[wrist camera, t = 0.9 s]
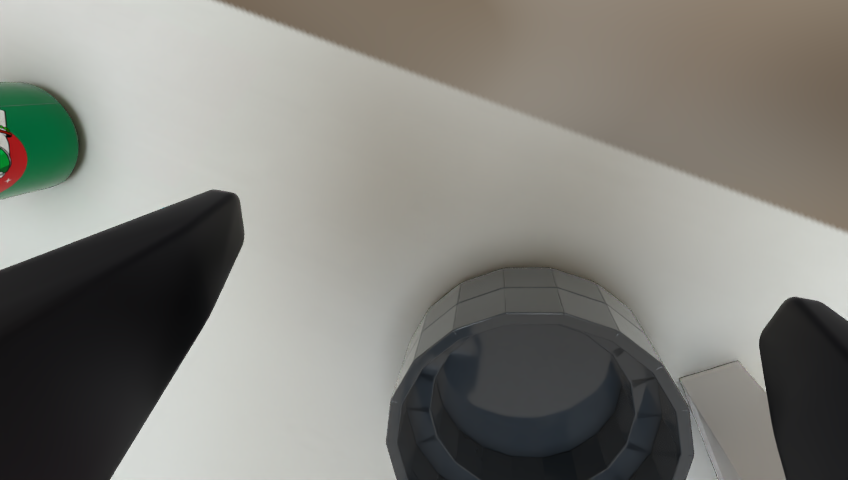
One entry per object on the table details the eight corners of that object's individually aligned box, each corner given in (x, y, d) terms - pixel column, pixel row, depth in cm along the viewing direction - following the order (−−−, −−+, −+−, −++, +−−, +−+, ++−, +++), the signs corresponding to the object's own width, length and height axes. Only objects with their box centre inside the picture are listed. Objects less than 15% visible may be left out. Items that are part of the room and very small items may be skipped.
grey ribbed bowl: (486, 505, 29) (484, 599, 24) (362, 332, 27) (330, 394, 21) (695, 419, 26) (747, 505, 20) (574, 214, 23) (597, 253, 18)
